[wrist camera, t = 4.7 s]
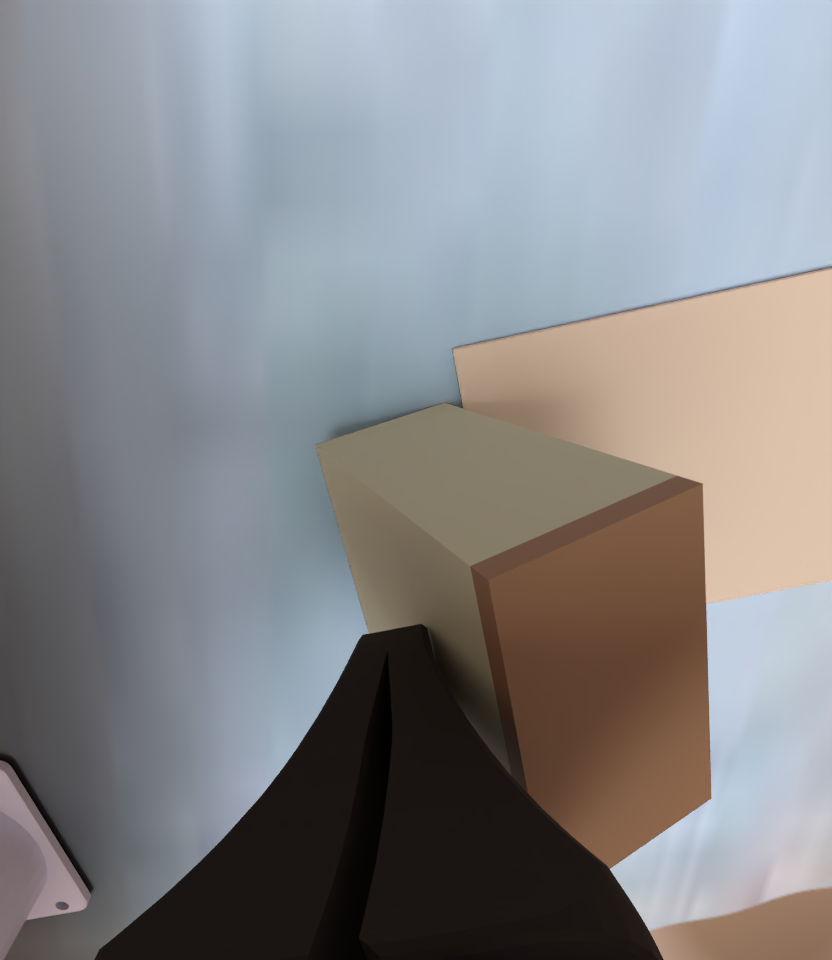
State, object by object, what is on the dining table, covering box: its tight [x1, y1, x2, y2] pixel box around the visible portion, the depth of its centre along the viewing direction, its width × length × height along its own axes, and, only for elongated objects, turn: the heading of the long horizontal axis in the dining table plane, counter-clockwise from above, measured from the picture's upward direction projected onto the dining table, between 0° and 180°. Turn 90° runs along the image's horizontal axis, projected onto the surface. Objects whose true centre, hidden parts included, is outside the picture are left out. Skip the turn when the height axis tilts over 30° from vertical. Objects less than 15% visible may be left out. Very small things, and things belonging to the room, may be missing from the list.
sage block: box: [315, 403, 711, 869], centre depth 14 cm, size 4×7×9 cm, turn 12°
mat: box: [452, 267, 832, 604], centre depth 18 cm, size 12×10×1 cm
